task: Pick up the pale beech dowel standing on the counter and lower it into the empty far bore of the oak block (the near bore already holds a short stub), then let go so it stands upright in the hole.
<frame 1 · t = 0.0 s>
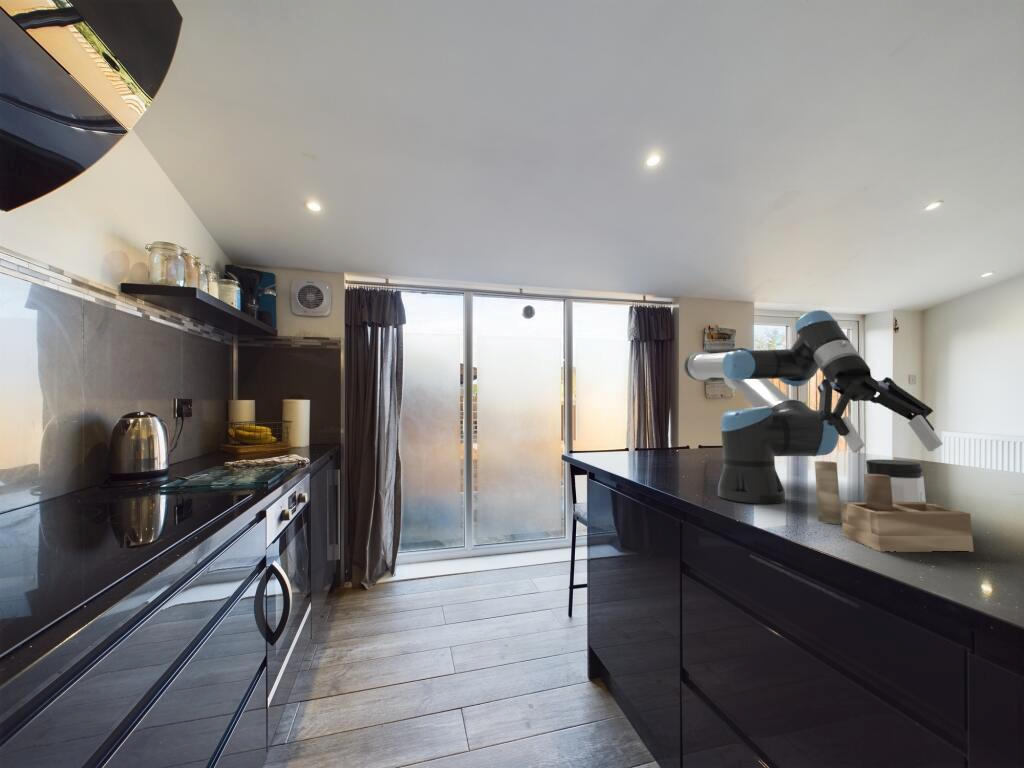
hand: (897, 448, 76), 15 cm above the countertop, tool tilted 35°, fingers open, 13 cm apart
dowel: (829, 521, 82), on the countertop
stub: (881, 528, 69), point 2 cm above the countertop, touching bore block
jar: (897, 523, 81), on the countertop
bore block: (904, 543, 69), on the countertop
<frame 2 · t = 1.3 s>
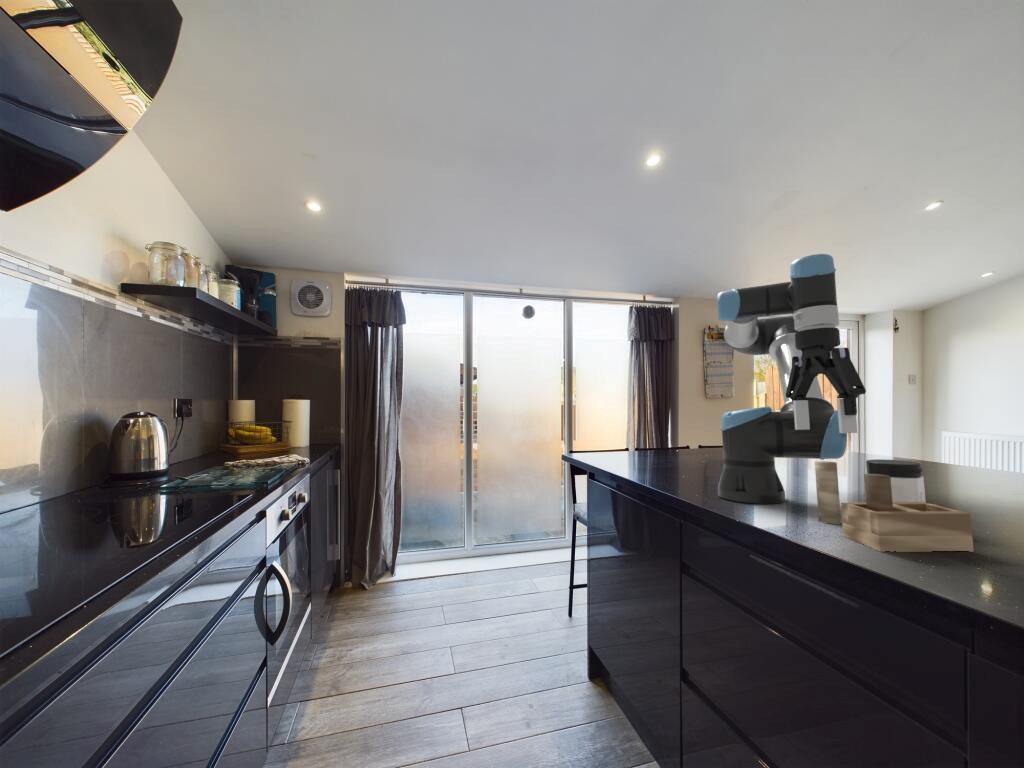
hand: (823, 431, 84), 18 cm above the countertop, tool pointing down, fingers open, 13 cm apart
nothing on the countertop moved.
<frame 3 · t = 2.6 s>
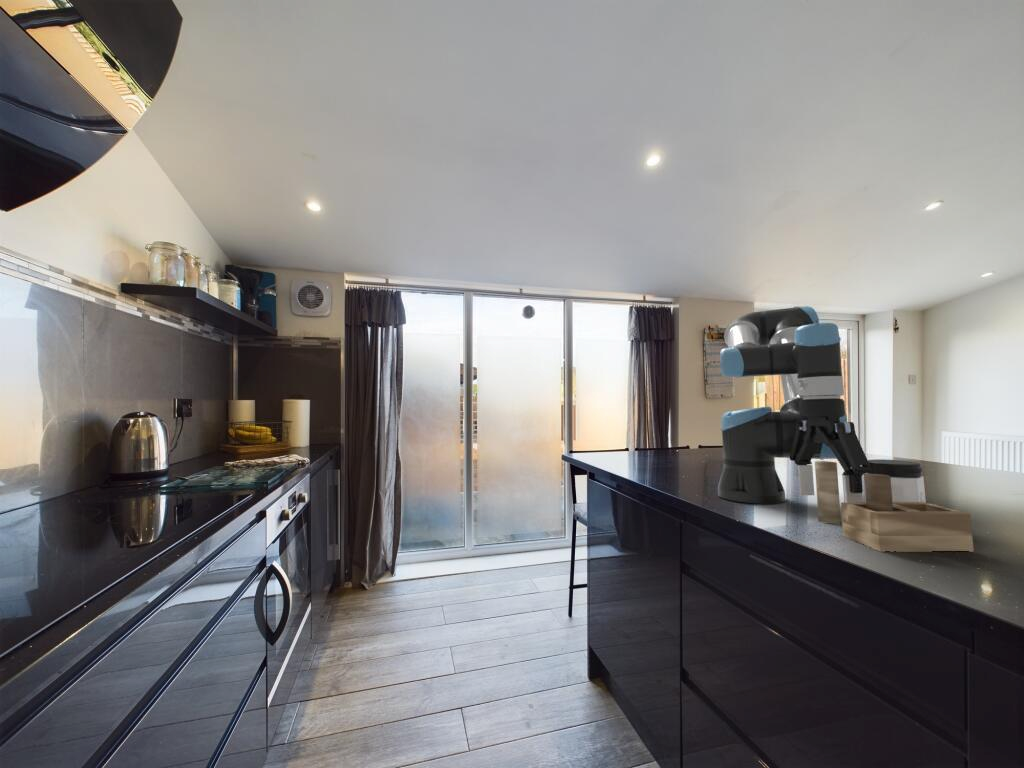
hand: (828, 502, 83), 4 cm above the countertop, tool pointing down, fingers open, 13 cm apart
nothing on the countertop moved.
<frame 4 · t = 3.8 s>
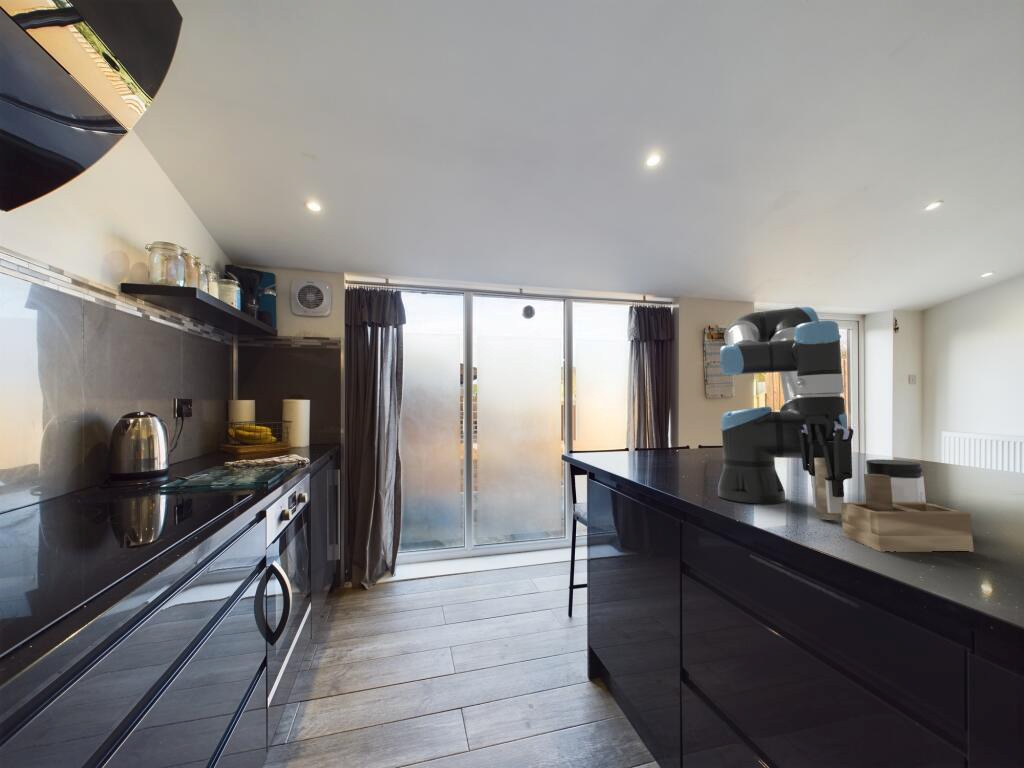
hand: (828, 509, 83), 2 cm above the countertop, tool pointing down, fingers closed on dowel, 3 cm apart
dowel: (829, 517, 83), point 1 cm above the countertop, touching gripper
everything else where it was.
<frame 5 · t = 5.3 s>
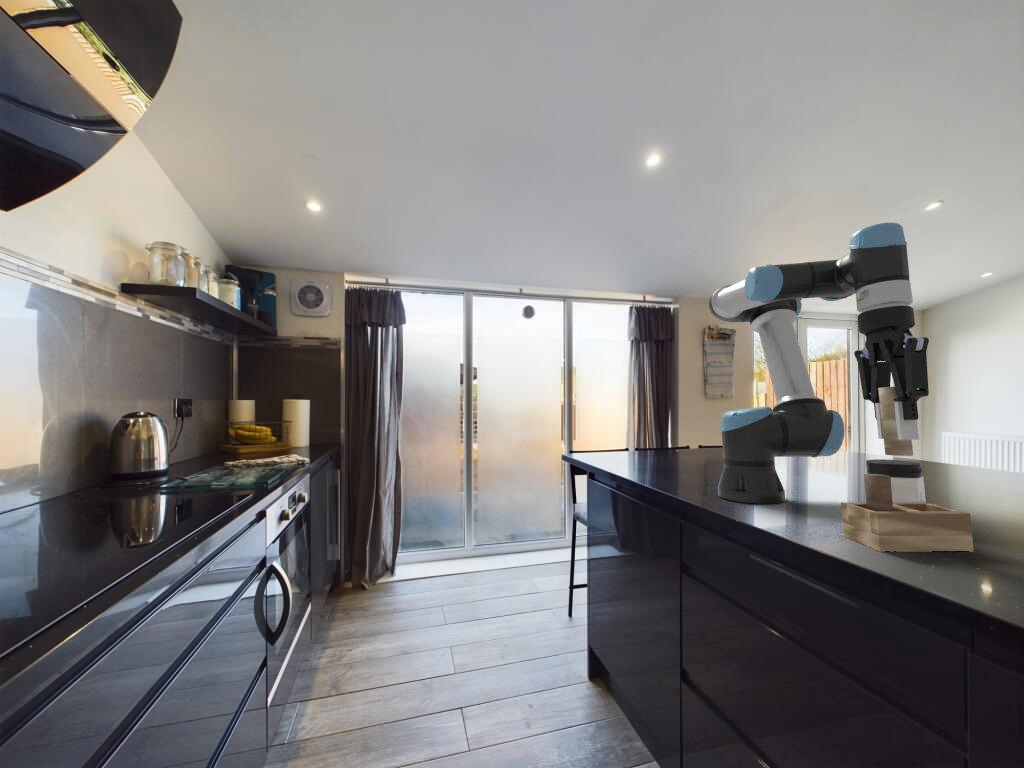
hand: (898, 438, 71), 18 cm above the countertop, tool pointing down, fingers closed on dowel, 3 cm apart
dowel: (899, 455, 71), point 15 cm above the countertop, touching gripper
everything else where it was.
when the fingers open (7 cm above the countertop, at t = 7.5 s): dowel drops 1 cm, resting on bore block.
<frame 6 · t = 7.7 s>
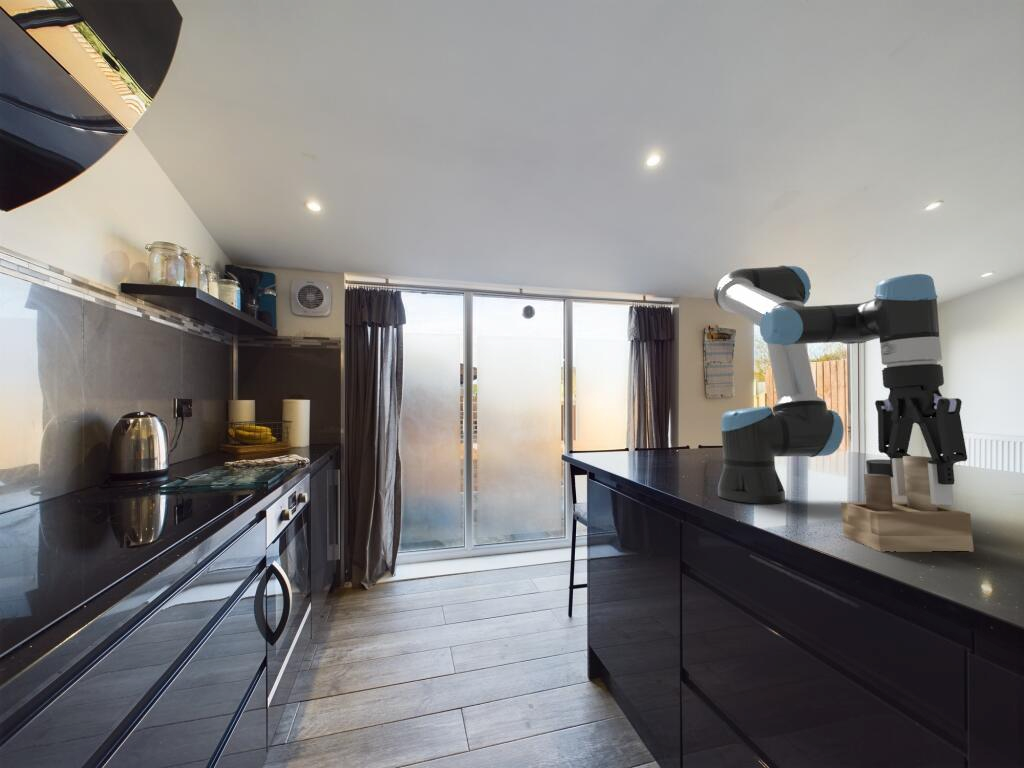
hand: (922, 499, 69), 7 cm above the countertop, tool pointing down, fingers open, 6 cm apart
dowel: (924, 528, 69), point 3 cm above the countertop, touching bore block
everything else where it was.
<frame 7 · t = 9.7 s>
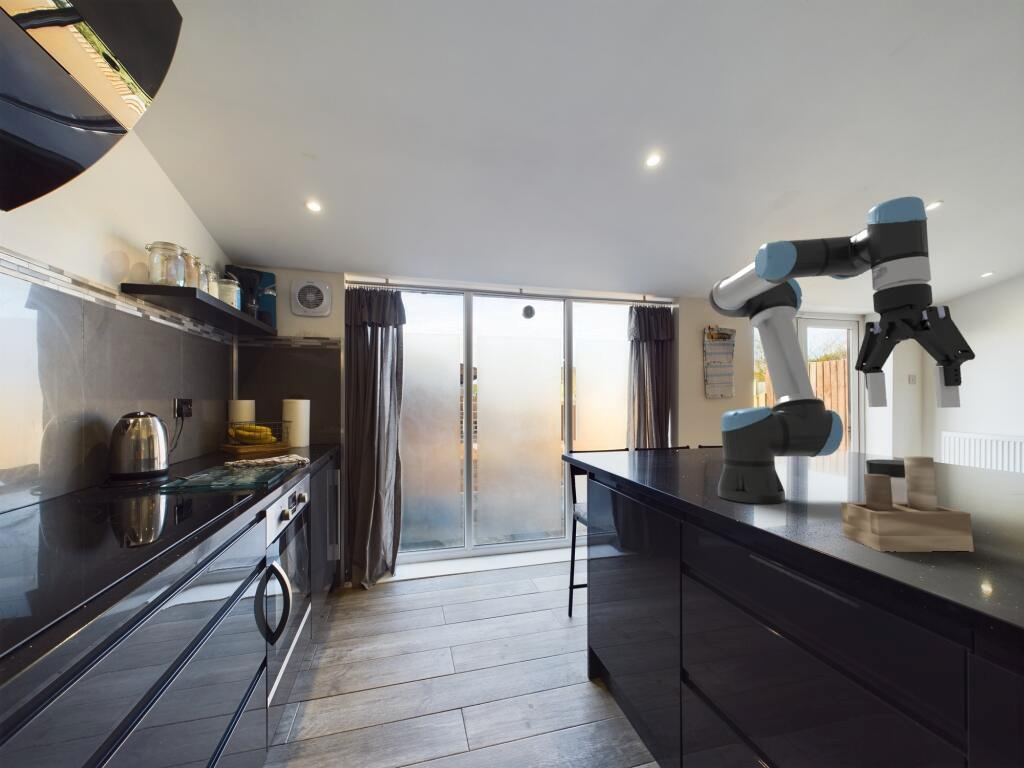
hand: (909, 407, 71), 23 cm above the countertop, tool pointing down, fingers open, 13 cm apart
nothing on the countertop moved.
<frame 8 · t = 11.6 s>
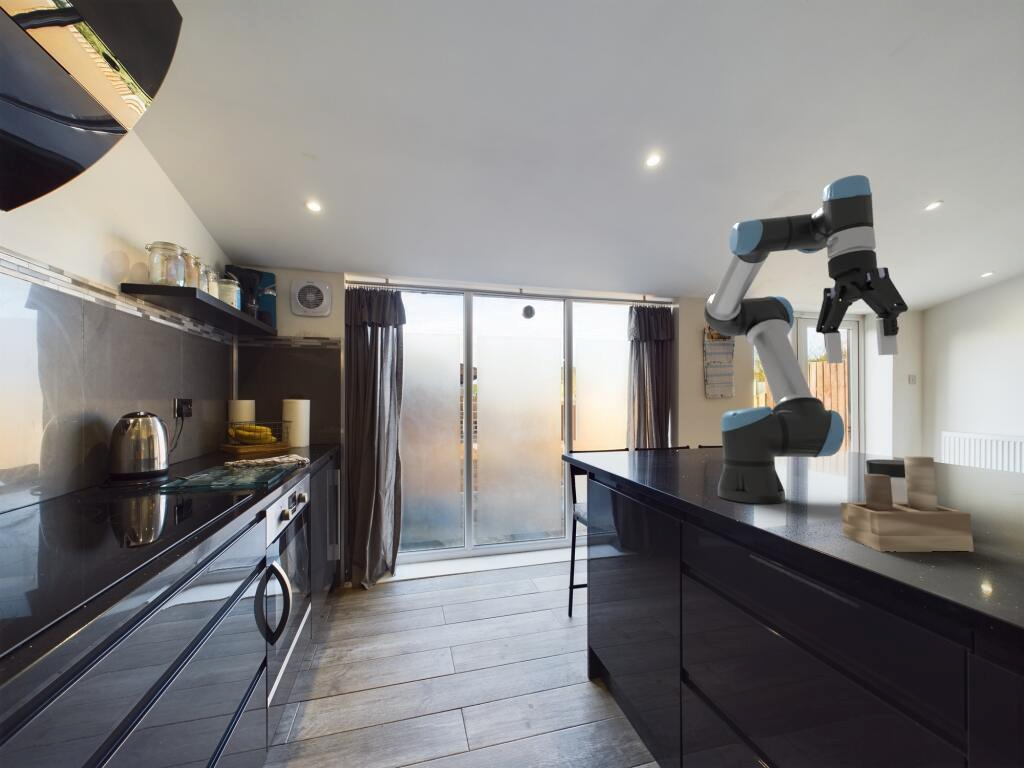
hand: (859, 359, 81), 33 cm above the countertop, tool pointing down, fingers open, 13 cm apart
nothing on the countertop moved.
at the end: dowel 0.1 cm from the target spot on the bore block, point 2.5 cm above the bore block's base; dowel tilted 1°; the gripper is holding nothing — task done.
